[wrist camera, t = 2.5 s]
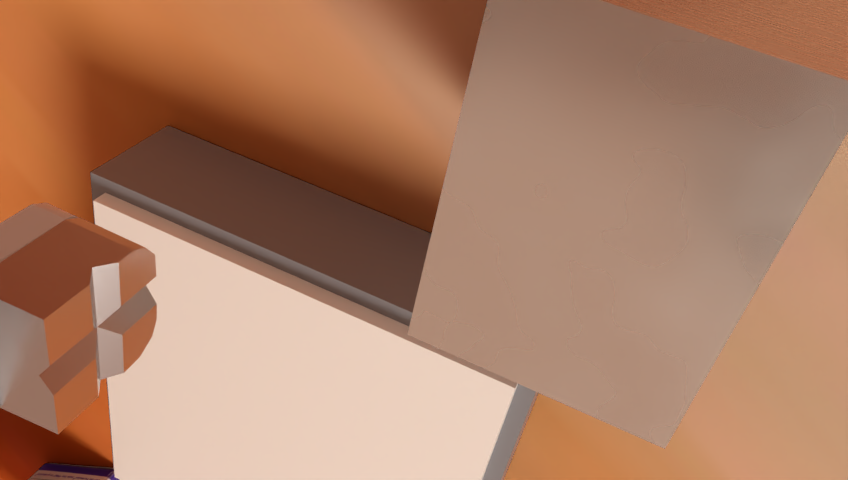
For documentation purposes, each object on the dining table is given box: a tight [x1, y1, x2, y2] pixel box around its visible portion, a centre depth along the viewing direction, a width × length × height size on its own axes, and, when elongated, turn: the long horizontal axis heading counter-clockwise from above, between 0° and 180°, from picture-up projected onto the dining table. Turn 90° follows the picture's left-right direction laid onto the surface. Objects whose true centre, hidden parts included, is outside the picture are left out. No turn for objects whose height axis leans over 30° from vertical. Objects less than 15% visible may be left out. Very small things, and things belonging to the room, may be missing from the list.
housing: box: [407, 0, 848, 449], centre depth 15 cm, size 5×7×8 cm
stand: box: [90, 126, 538, 480], centre depth 27 cm, size 14×14×4 cm
